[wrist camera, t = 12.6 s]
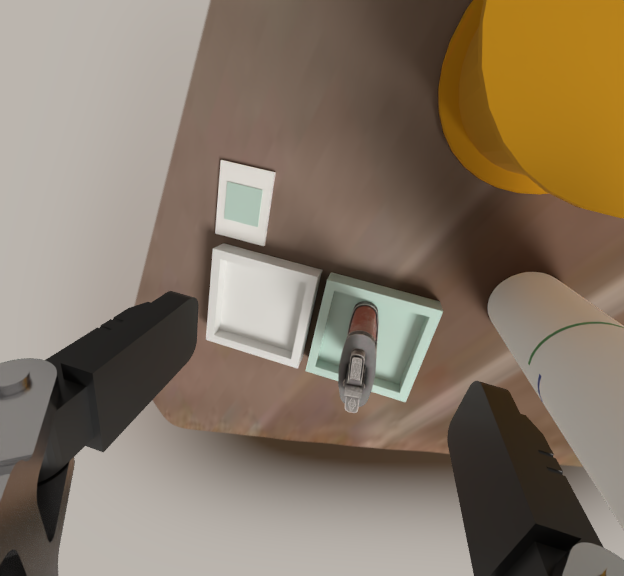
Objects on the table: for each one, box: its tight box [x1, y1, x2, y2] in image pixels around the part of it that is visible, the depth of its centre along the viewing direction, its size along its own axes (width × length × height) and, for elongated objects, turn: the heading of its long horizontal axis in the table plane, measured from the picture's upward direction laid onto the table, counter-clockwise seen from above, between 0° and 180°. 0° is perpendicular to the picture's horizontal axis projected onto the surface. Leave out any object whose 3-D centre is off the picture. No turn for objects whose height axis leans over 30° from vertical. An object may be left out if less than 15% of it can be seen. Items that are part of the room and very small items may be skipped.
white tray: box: [206, 243, 322, 368], centre depth 38 cm, size 12×12×2 cm
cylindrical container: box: [487, 272, 624, 530], centre depth 21 cm, size 7×7×25 cm
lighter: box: [338, 301, 379, 413], centre depth 32 cm, size 8×3×10 cm, turn 177°
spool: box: [438, 0, 624, 218], centre depth 19 cm, size 18×18×15 cm
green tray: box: [306, 272, 443, 402], centre depth 36 cm, size 12×12×2 cm
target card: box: [215, 160, 276, 246], centre depth 35 cm, size 8×6×1 cm
